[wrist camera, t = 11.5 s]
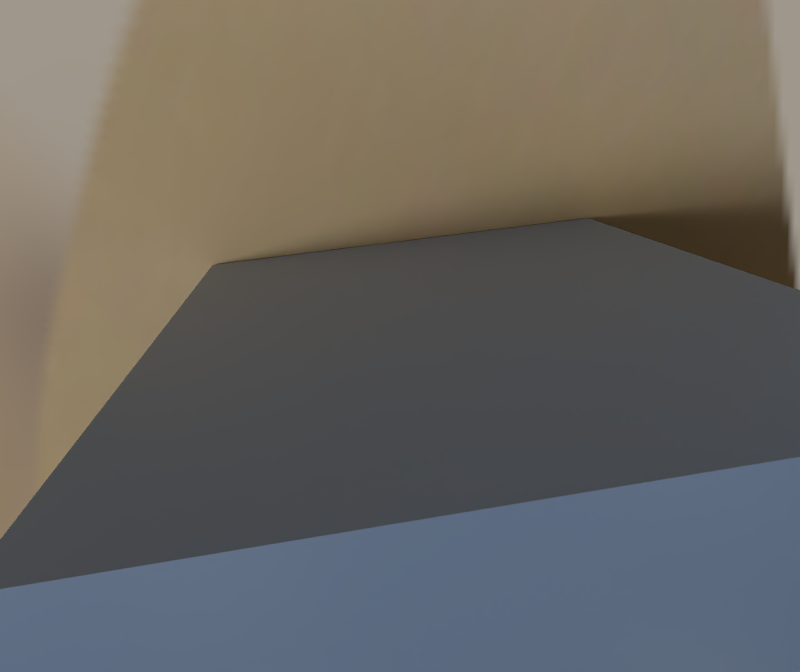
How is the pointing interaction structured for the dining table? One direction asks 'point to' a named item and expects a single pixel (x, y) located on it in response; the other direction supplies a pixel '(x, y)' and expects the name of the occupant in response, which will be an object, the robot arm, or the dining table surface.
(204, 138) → the dining table surface
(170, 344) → the matte slate cube
